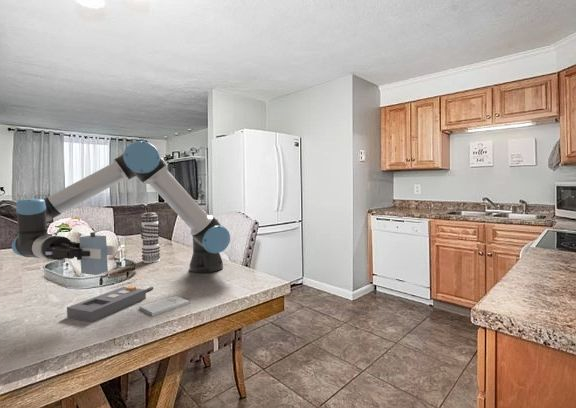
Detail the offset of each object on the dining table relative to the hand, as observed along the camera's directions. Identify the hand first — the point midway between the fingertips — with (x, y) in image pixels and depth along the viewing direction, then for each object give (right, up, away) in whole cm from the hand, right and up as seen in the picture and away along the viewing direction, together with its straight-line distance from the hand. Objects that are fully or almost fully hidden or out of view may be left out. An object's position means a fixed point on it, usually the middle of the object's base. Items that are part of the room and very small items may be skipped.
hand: (106, 252), depth 93 cm
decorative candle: (-17, -15, +69) cm, 72 cm away
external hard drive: (+14, -19, +8) cm, 25 cm away
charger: (-5, -6, +2) cm, 8 cm away
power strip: (-2, -18, +11) cm, 22 cm away
